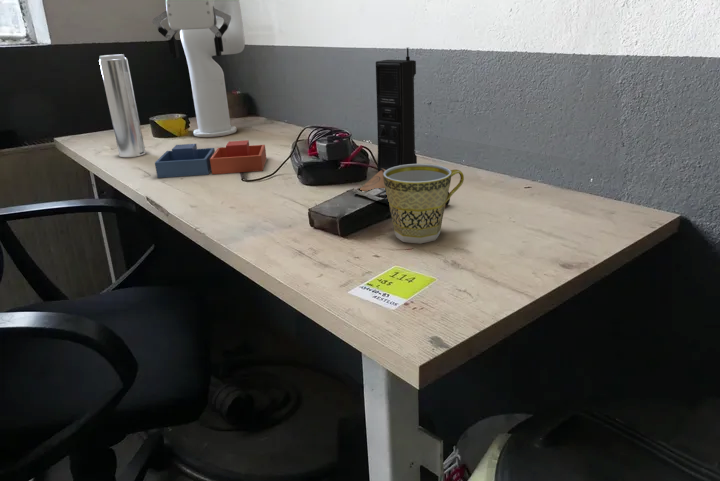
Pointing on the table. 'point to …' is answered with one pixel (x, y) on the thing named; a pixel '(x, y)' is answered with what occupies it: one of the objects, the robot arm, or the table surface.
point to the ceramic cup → (418, 199)
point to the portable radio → (395, 112)
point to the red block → (238, 148)
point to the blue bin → (184, 164)
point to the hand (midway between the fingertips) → (197, 56)
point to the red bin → (238, 161)
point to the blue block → (185, 152)
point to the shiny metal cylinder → (122, 105)
